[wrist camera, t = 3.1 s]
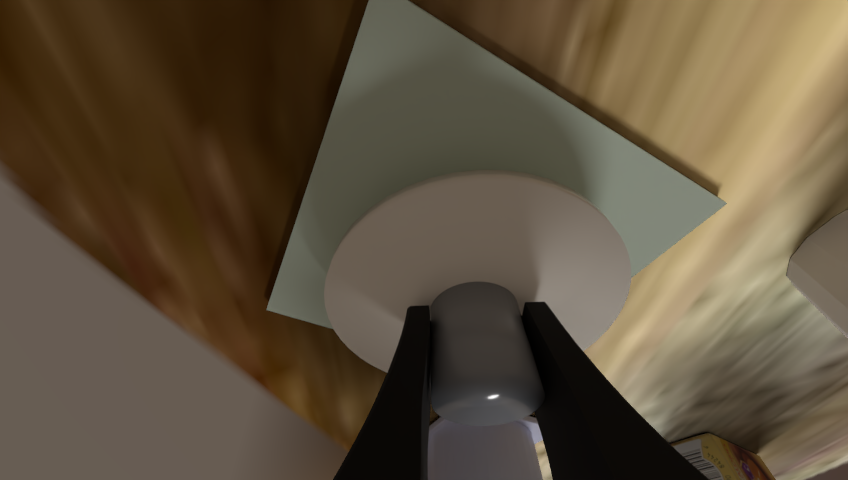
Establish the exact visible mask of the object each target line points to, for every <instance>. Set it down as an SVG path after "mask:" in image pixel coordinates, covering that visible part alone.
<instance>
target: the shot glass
mask: <svg viewBox="0 0 848 480" xmlns="http://www.w3.org/2000/svg"><path fill="white" fill-rule="evenodd" d="M786 276H787V277H788V278H789V280H790V281H791V282H792V284H793V285H794V286H795V287H796V288H797V289H798V290H799V291H800V292H801V293H802V294H803V295H804V296H805V297H806V298H807V299H808V300H809V301H810V302H811V303H812V304H813V305H814V306H815V307H816V308H817V309H818V310H819V311H820V312H821V313H822V314H823V315H824V316H825V317H826V318H827V319H828V320H829V321H830V322H831V323H832V324H833V325H834V326H835V327H836V328H837V329H838V330H839V331H840V332H842V333H843V334H844V335H845V336H846V337H847V338H848V210H846V211H844V212H842V213H840V214H838V215H836V216H835V217H834V218H832V219H831V220H830V221H828V222H827V223H826V224H824V225H823V226H822V227H820V228H819V229H818V230H816V231H815V232H814V233H813V234H811V235H810V236H809V237H807V238H806V240H805V241H804V242H803V243H802V244H801V246H800V247H799V248H798V249H797V251H796V252H795V253H794V254H793V256H792V257H791V258H790V261H789V266H788V270H787V275H786Z"/></svg>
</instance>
